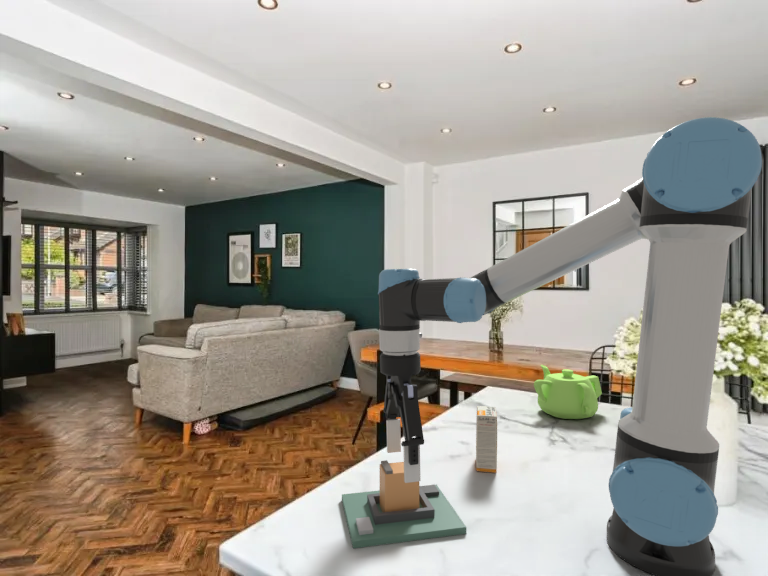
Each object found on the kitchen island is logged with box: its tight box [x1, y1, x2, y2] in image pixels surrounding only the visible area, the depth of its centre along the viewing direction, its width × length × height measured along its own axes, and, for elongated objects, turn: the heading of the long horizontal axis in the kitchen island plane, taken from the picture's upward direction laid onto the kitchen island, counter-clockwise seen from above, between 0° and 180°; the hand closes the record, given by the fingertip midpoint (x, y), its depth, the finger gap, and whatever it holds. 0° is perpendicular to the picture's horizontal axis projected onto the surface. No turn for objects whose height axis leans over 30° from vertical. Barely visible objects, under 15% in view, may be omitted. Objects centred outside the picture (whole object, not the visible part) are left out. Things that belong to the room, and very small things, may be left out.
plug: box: [379, 459, 420, 512], centre depth 83 cm, size 4×6×9 cm
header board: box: [341, 484, 467, 549], centre depth 83 cm, size 16×20×3 cm
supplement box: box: [475, 405, 498, 474], centre depth 105 cm, size 8×5×13 cm, turn 168°
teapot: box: [533, 364, 603, 420], centre depth 145 cm, size 19×20×14 cm
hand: (402, 465), depth 83 cm, fingers open, 13 cm apart
